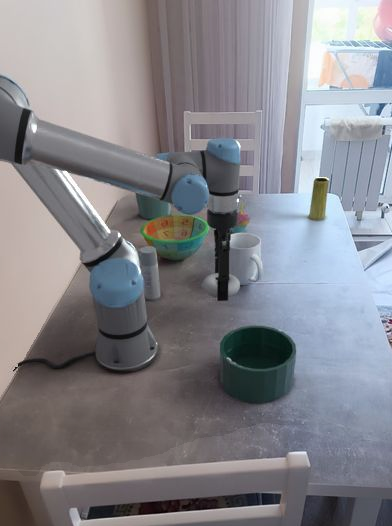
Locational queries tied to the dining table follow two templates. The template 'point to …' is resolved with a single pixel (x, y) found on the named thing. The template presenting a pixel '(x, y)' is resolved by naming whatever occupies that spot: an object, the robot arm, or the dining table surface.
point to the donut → (211, 285)
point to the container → (150, 273)
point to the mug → (245, 258)
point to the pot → (257, 363)
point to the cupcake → (241, 221)
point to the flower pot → (152, 207)
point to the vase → (319, 199)
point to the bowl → (175, 235)
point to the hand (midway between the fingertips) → (221, 289)
